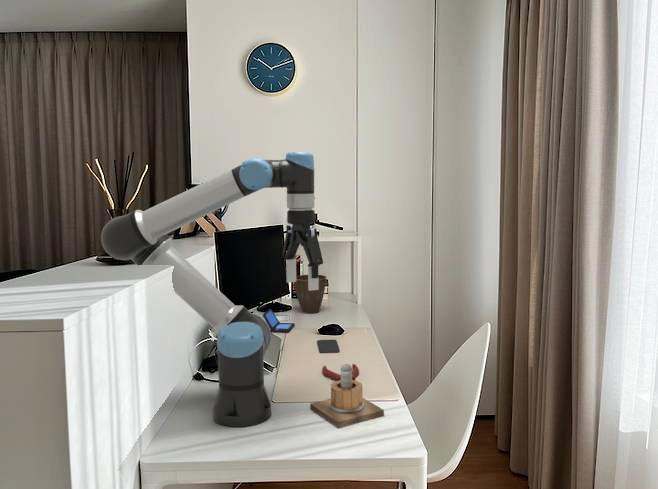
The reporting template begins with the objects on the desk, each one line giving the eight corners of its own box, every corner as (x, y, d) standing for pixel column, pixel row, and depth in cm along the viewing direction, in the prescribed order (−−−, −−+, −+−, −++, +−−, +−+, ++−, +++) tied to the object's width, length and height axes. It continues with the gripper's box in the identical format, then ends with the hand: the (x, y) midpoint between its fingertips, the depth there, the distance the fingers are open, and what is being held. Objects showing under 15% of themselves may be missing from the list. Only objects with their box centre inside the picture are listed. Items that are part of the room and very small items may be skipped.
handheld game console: (288, 333, 231) (288, 315, 231) (262, 332, 233) (261, 314, 232) (295, 325, 244) (295, 308, 243) (270, 324, 245) (269, 307, 245)
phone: (319, 352, 205) (316, 339, 220) (319, 354, 205) (316, 342, 220) (340, 351, 206) (336, 339, 220) (340, 354, 206) (336, 341, 220)
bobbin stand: (338, 427, 145) (337, 377, 143) (310, 408, 157) (309, 361, 155) (383, 415, 152) (383, 366, 150) (354, 398, 164) (353, 353, 162)
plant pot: (289, 314, 262) (288, 279, 260) (300, 307, 276) (299, 273, 274) (320, 316, 258) (320, 280, 256) (330, 309, 272) (330, 275, 270)
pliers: (330, 395, 167) (330, 386, 167) (321, 372, 187) (321, 364, 187) (370, 393, 169) (370, 384, 168) (356, 370, 189) (356, 362, 188)
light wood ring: (341, 412, 148) (341, 393, 148) (325, 401, 155) (325, 383, 155) (368, 405, 153) (368, 387, 152) (351, 395, 160) (351, 377, 159)
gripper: (335, 211, 151) (336, 292, 153) (293, 206, 173) (294, 277, 175) (309, 212, 147) (310, 295, 150) (269, 207, 169) (271, 280, 171)
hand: (302, 285), depth 162 cm, fingers open, 13 cm apart
